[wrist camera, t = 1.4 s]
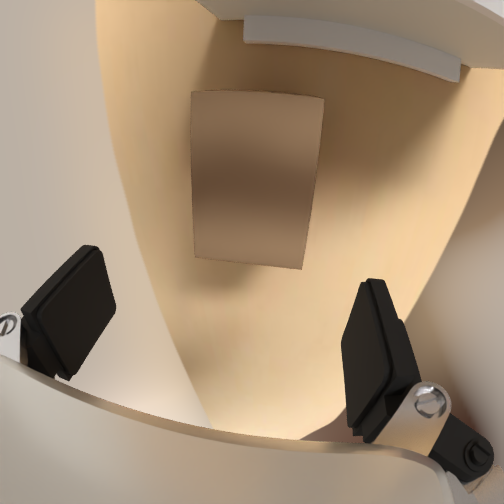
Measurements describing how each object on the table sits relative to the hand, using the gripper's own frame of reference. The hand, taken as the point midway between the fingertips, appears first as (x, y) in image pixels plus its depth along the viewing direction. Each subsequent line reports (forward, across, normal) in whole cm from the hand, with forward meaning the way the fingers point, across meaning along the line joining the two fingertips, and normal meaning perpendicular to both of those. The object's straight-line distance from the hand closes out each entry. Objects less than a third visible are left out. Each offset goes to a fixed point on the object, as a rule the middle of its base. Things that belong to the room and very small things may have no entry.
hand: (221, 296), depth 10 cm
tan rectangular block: (+15, 0, -2) cm, 15 cm away
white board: (+15, -6, -13) cm, 21 cm away
